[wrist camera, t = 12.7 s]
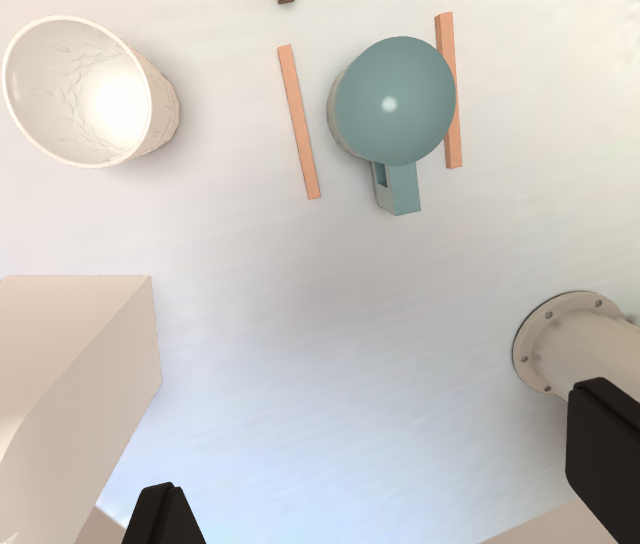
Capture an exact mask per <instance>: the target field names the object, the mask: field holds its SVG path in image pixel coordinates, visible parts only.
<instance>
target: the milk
mask: <svg viewBox="0 0 640 544" xmlns="http://www.w3.org/2000/svg"><path fill="white" fill-rule="evenodd" d="M161 382H162V373H161V364H160V355H159V346H158V338H157V329H156V320H155V311H154V302H153V294H152V285H151V276H150V275H9V276H7V277H6V278H4V279H3V280H1V281H0V544H73V543H74V541H75V540H76V537H77V536H78V534H79V532H80V530H81V529H82V527H83V525H84V523H85V521H86V519H87V518H88V516H89V514H90V512H91V510H92V508H93V507H94V505H95V503H96V501H97V499H98V497H99V496H100V494H101V492H102V490H103V488H104V487H105V485H106V483H107V481H108V479H109V477H110V476H111V474H112V472H113V470H114V468H115V466H116V465H117V463H118V461H119V459H120V457H121V455H122V454H123V452H124V450H125V448H126V446H127V444H128V443H129V441H130V439H131V437H132V435H133V433H134V432H135V430H136V428H137V426H138V424H139V422H140V421H141V419H142V417H143V415H144V413H145V411H146V410H147V408H148V406H149V404H150V402H151V400H152V399H153V397H154V395H155V393H156V391H157V389H158V388H159V386H160V384H161Z"/></svg>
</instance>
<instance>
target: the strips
mask: <svg viewBox="0 0 640 544" xmlns="http://www.w3.org/2000/svg"><path fill="white" fill-rule="evenodd" d="M435 25H436V38H437V50H438V52H439V53H440V54H441V55H442V56H443V58H444V59H445V60H446V62H447V64H448V65H449V67H450V69H451V72H452V75H453V78H454V82H455V88H456V106H455V112H454V117H453V120H452V122H451V125H450V127H449V129H448V131H447V133H446V135H445V136H444V139H445V152H446V164H447V168H456V167H460V166H462V156H461V140H460V125H459V109H458V94H457V78H456V63H455V48H454V32H453V17H452V12H447V13H442V14H439V15H438V16H436V17H435ZM278 54H279V59H280V64H281V69H282V73H283V78H284V83H285V88H286V92H287V97H288V102H289V107H290V112H291V116H292V121H293V126H294V131H295V136H296V140H297V145H298V150H299V155H300V159H301V164H302V169H303V174H304V179H305V183H306V188H307V193H308V198H309V200H310V199H315V198H320V192H319V187H318V182H317V177H316V172H315V167H314V162H313V157H312V152H311V146H310V141H309V136H308V131H307V126H306V121H305V116H304V111H303V106H302V101H301V96H300V91H299V86H298V81H297V76H296V71H295V66H294V60H293V55H292V50H291V45H286V46H281V47H278Z"/></svg>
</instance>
